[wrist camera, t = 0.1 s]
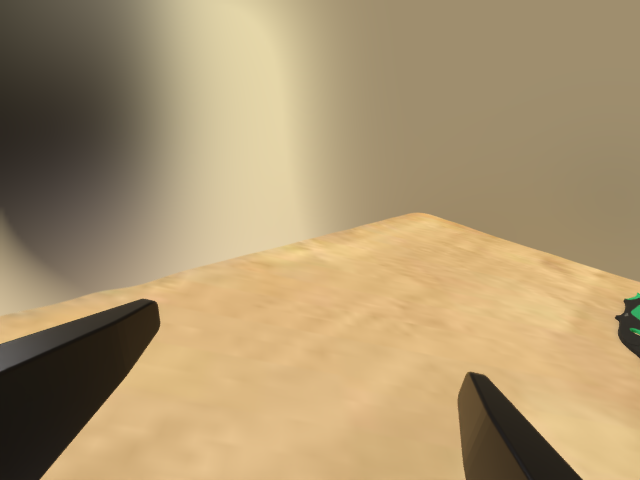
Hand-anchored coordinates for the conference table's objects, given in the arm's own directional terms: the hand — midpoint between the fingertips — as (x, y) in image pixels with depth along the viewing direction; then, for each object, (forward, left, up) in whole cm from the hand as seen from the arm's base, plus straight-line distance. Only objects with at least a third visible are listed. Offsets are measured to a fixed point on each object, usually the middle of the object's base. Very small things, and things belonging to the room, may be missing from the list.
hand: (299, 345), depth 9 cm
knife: (+36, -39, -17) cm, 56 cm away
